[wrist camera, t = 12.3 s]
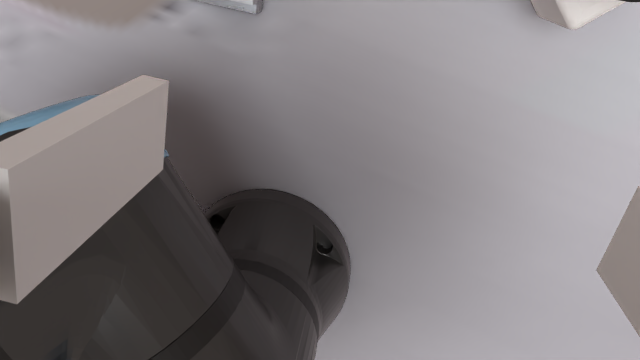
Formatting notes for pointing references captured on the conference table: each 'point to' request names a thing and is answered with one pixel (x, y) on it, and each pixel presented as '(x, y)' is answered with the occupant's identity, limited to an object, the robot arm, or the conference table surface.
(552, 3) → the container
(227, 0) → the rail
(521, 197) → the conference table surface
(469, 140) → the conference table surface
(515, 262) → the conference table surface
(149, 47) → the conference table surface
